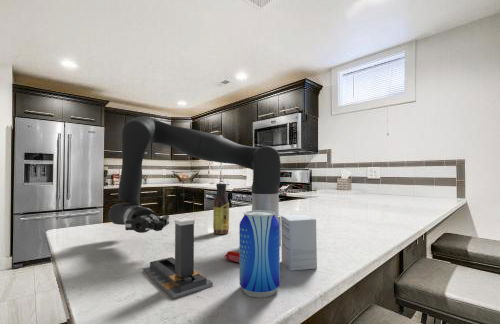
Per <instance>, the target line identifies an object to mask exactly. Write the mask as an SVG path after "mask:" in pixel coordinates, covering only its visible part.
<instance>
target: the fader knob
mask: <svg viewBox="0 0 500 324" xmlns="http://www.w3.org/2000/svg"><path fill="white" fill-rule="evenodd" d="M195 224H196V223H195V219H192V218H189V217H185V218H177V219H176V218H175V219H174V227H175V228H174V259H175V274H176V275H177V276H179V277H180V278H183V280H185V281H186V282H189V281H192V278H191V277H190V275H193V274H194V271H195V267H194V266H195V263H194V262H195V261H194V260H195V256H194V255H195Z"/></svg>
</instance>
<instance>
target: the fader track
mask: <svg viewBox="0 0 500 324" xmlns="http://www.w3.org/2000/svg"><path fill="white" fill-rule="evenodd" d="M142 269H143V270H142V273H144V274H145V275H146V276H147V277H148V278H150V279H151V280H152V281H153V282H154V283H155V284H156V285H157V286H158V287H159V288H160V289H161V290H162V291H163V292H165V293H166V295H168V296H169V297H170V298H171V299H172V300H175V299H178V298H181V297H183V296H187V295H189V294H192V293H195V292H198V291H202V290H205V289H208V288H211V287H214V286H213V285H214V281H212V280H210V279H209V278H207V276H204V275H202V274H201V273H200V272H198V271H196V270H194V274H193V275H190V277H191V278H192V281H189V282H186V281H185V280H183V278H180V277H179V276H177V275H176V274H175V257H173V256H169V257H166V258H162V259H157V260H152V261H150V262H149V266H148V267H147V266H146V267H144V268H142Z"/></svg>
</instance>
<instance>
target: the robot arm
mask: <svg viewBox="0 0 500 324" xmlns="http://www.w3.org/2000/svg"><path fill="white" fill-rule="evenodd" d="M121 132H122V134H121V139H122V140H121V144H122V156H121V158H122V162H121V173H120V179H119V184H118V190H117V198H118V199H119V200H120V201H122V203H121V202H119V203H114V204H112V205H111V206H110V208H109V210H108V213H107V214H108V219H109V221H110V222H111V223H112V224H114V225H119V226H120V225H121V226H123V225H124V228H125V231H134V232H135V233H138V234H139V233H140V234H144V233H148V232H149V231H155V232H160V231H163V229H164V228H165V227H166V226H168V225H170V215H169V214H166V215H162V216H160V215H156V212H154V211H153V210H152V209H151V208H149V207H146V206H142V205H141V203H140V202H141V201H140V200H141V199H140V197H141V195H140V194H141V189H142V185H143V161H144V156H145V153H146V150H147V148H148V146H149V145H150V144H151V143H152V144H153V143H154V144H160V145H165V146H169V147H172V148H175V149H176V150H178V151H180V152H182V153H184V154H185V155H188V157H192V158H195V159H199V160H202V161H203V160H204V161H208V162H214V163H220V164H221V163H222V164H228V165H229V164H231V165H236V166H240V167H244V168H247V169H250V170H252V174H253V175H252V185H251V211H255V210H263V211H272V212H274V213H275V217H276V219H277V220H278V222H279V243H280V246H282V238H281V216H280V206H279V205H280V203H279V199H280V197H279V196H280V194H279V193H280V192H279V189H280V185H281V157H280V153H279V152H278V150H277V149H276V148H275V147H273V146H271V145H263V146H261V147H258V146H257V147H256V146H250V145H243V144H239V143H237V142H234V141H232V140H230V139H228V138H226V137H223V136H220V135H217V134H214V133H210V132H206V131H201V130H196V129H192V128H187V127H181V126H177V125H173V124H169V123H166V122H164V121H160V120H157V119H155V118H152V117H149V116H145V115H144V116H143V115H140V116H136V117H134V118H132V119H130V120H129V121H127V122H125V124H124V125H123V128H122V130H121Z"/></svg>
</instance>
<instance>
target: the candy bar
mask: <svg viewBox="0 0 500 324" xmlns="http://www.w3.org/2000/svg"><path fill="white" fill-rule="evenodd" d="M224 257H225V259H226V260H227V261H231V262H235V263H239V264H240V251H236V250H232V251H231V250H229V251H227V252H226V254H225V255H224Z"/></svg>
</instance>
